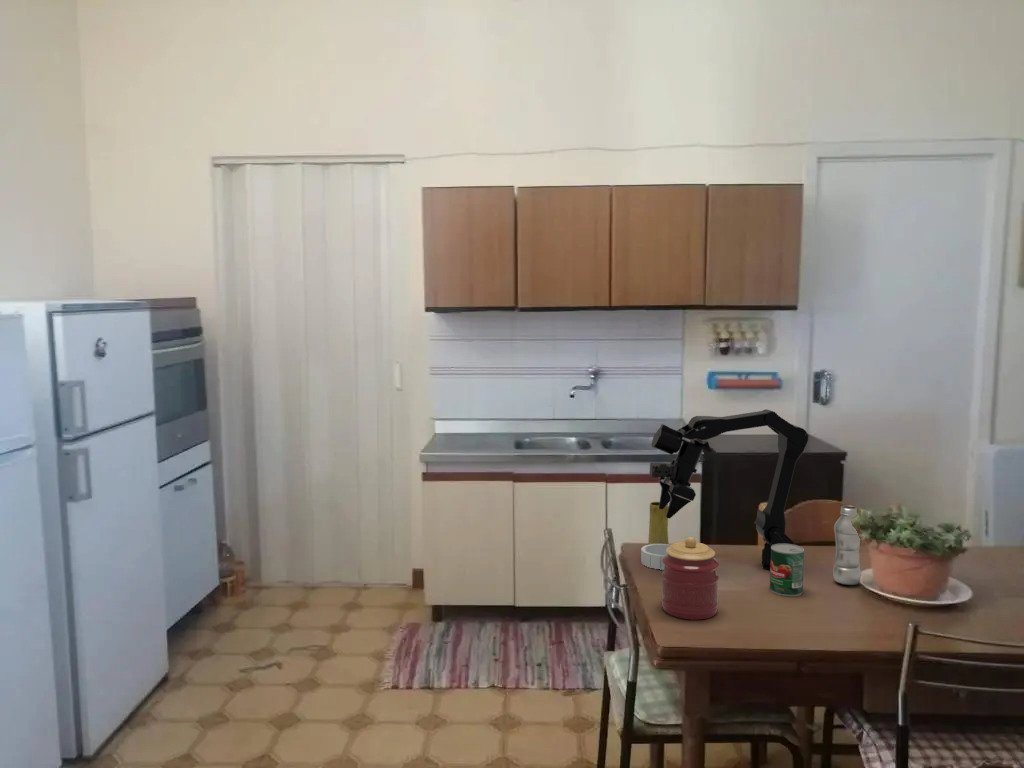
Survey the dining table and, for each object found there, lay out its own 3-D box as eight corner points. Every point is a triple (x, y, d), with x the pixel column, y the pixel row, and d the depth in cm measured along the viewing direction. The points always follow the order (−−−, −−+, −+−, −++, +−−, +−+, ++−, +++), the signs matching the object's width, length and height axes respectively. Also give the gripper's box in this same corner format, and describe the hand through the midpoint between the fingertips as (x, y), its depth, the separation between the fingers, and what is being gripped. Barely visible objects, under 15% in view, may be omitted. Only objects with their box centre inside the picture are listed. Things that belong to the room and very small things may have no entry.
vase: (664, 555, 219) (665, 507, 218) (644, 552, 222) (644, 504, 221) (672, 550, 224) (672, 502, 223) (652, 546, 227) (652, 500, 226)
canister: (677, 623, 172) (678, 547, 170) (652, 602, 184) (652, 531, 183) (728, 617, 175) (730, 542, 174) (700, 596, 188) (701, 527, 186)
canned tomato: (765, 592, 191) (766, 549, 190) (775, 582, 197) (776, 541, 196) (797, 599, 186) (798, 555, 185) (807, 589, 192) (808, 547, 191)
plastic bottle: (865, 588, 193) (868, 510, 191) (838, 588, 193) (840, 510, 191) (854, 579, 199) (857, 504, 197) (828, 579, 199) (830, 504, 197)
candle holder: (686, 560, 215) (686, 547, 214) (675, 572, 205) (675, 558, 205) (648, 554, 220) (648, 541, 220) (636, 566, 210) (636, 552, 210)
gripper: (652, 443, 214) (630, 494, 216) (666, 456, 196) (643, 511, 197) (688, 458, 215) (666, 508, 216) (706, 472, 196) (682, 527, 198)
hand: (664, 513), depth 207 cm, fingers open, 9 cm apart
